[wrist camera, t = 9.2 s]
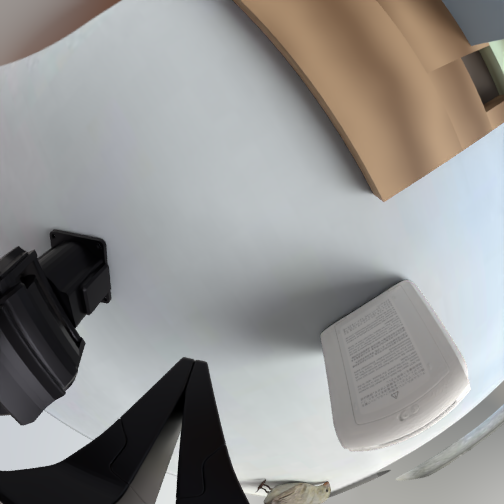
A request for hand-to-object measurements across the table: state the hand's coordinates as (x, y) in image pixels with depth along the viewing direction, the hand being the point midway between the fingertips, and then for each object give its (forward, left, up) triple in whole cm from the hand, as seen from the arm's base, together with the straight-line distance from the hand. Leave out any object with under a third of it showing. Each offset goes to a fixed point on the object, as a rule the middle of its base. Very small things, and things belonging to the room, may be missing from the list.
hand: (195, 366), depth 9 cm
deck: (+11, +19, -13) cm, 25 cm away
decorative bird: (+19, -53, -13) cm, 58 cm away
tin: (+15, +23, -11) cm, 30 cm away
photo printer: (+13, -6, -13) cm, 20 cm away
